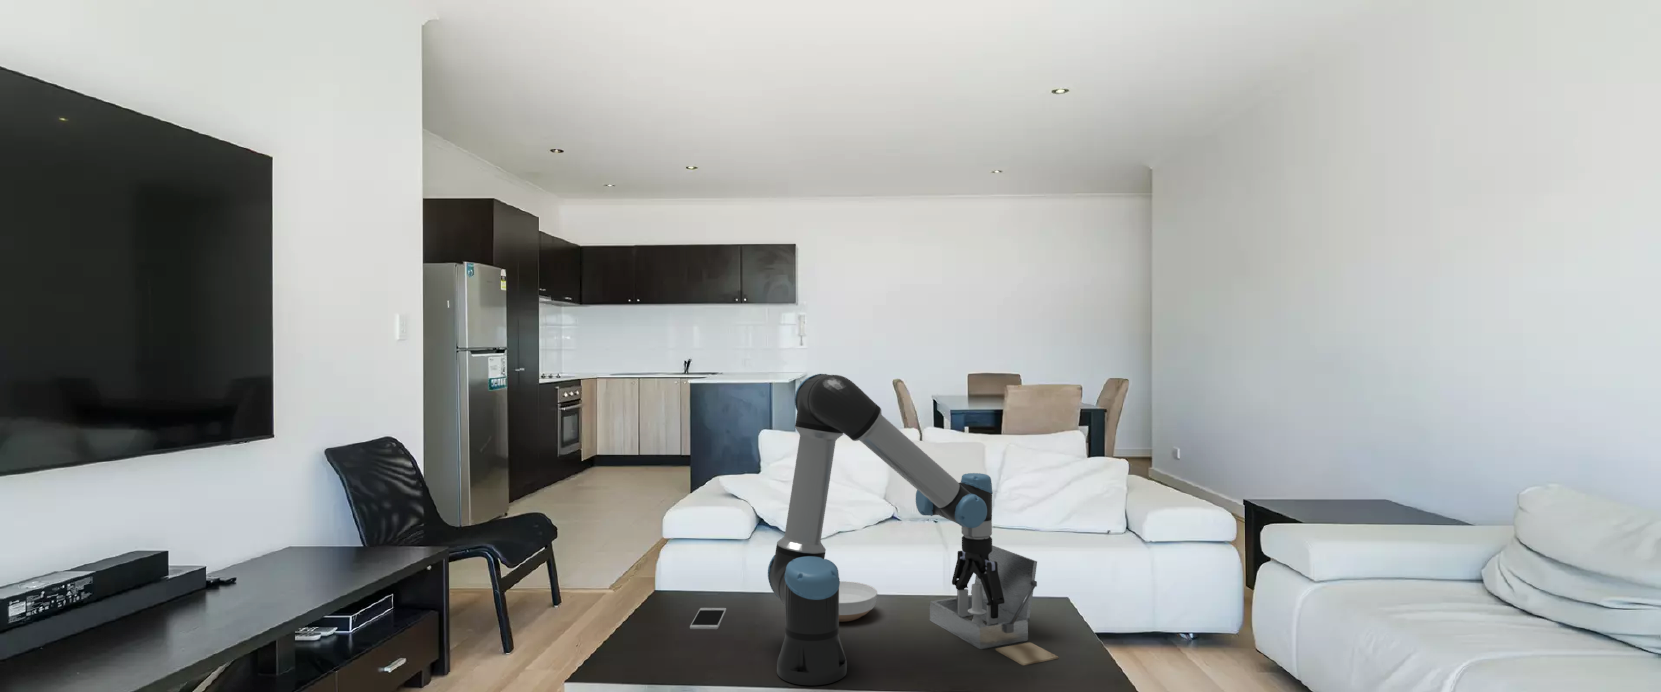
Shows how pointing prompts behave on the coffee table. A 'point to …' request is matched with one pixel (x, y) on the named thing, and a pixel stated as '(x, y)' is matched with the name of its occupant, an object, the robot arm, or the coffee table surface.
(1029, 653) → the mat
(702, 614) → the smartphone
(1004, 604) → the case
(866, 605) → the bowl
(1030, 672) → the coffee table surface
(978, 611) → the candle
